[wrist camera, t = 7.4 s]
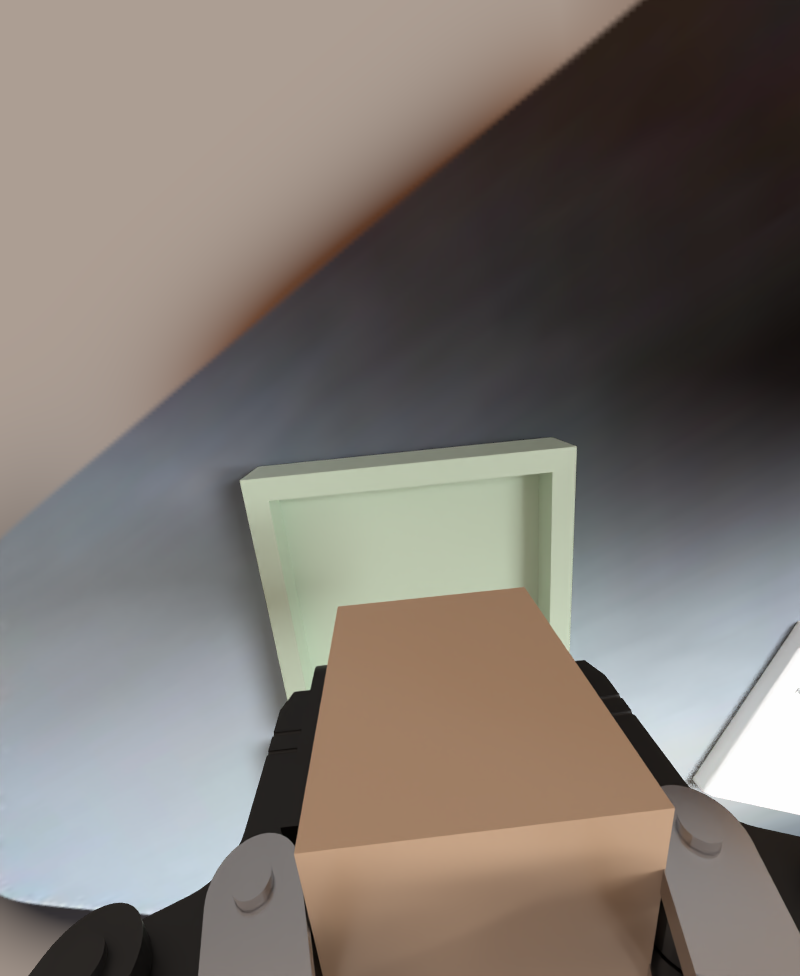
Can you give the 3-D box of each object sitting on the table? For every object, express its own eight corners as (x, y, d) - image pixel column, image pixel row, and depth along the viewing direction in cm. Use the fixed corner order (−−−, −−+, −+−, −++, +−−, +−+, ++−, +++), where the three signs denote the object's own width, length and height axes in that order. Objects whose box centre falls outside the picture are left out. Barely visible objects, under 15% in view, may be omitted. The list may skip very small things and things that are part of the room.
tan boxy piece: (524, 586, 9) (674, 807, 5) (523, 732, 11) (641, 1023, 6) (337, 606, 9) (293, 853, 5) (359, 751, 11) (343, 1064, 6)
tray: (551, 437, 19) (576, 446, 16) (547, 691, 23) (566, 728, 20) (258, 466, 18) (239, 480, 16) (308, 717, 23) (300, 758, 20)
